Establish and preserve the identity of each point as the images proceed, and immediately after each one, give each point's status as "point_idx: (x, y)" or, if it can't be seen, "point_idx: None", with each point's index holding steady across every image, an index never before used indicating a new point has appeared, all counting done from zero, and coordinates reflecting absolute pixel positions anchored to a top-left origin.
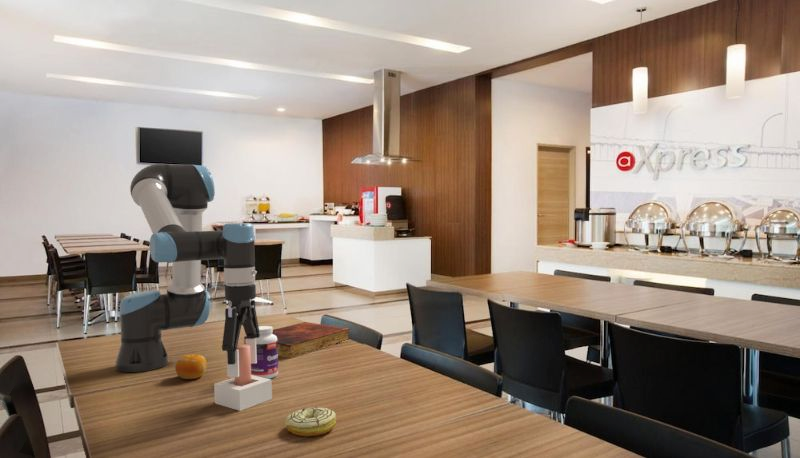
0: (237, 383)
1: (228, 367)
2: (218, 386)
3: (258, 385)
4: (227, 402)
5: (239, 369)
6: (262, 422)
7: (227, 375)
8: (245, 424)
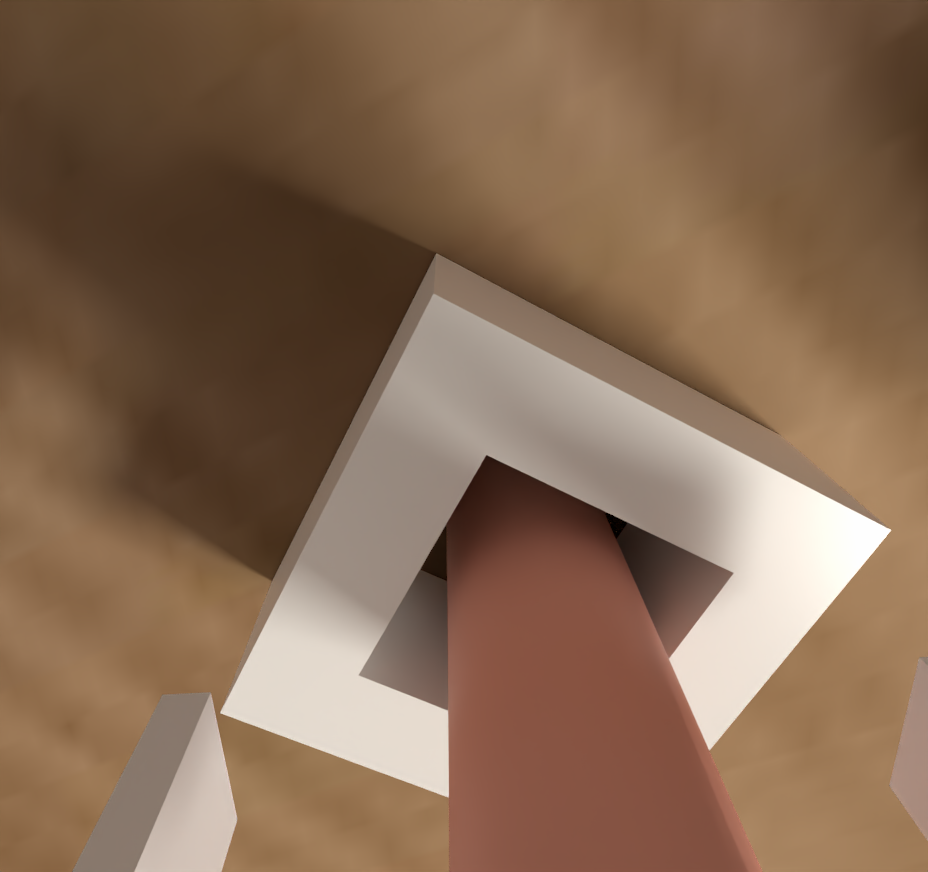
0: (453, 599)
1: (101, 843)
2: (389, 374)
3: None
4: (337, 455)
5: (450, 770)
6: (90, 807)
7: (153, 713)
8: (19, 722)
